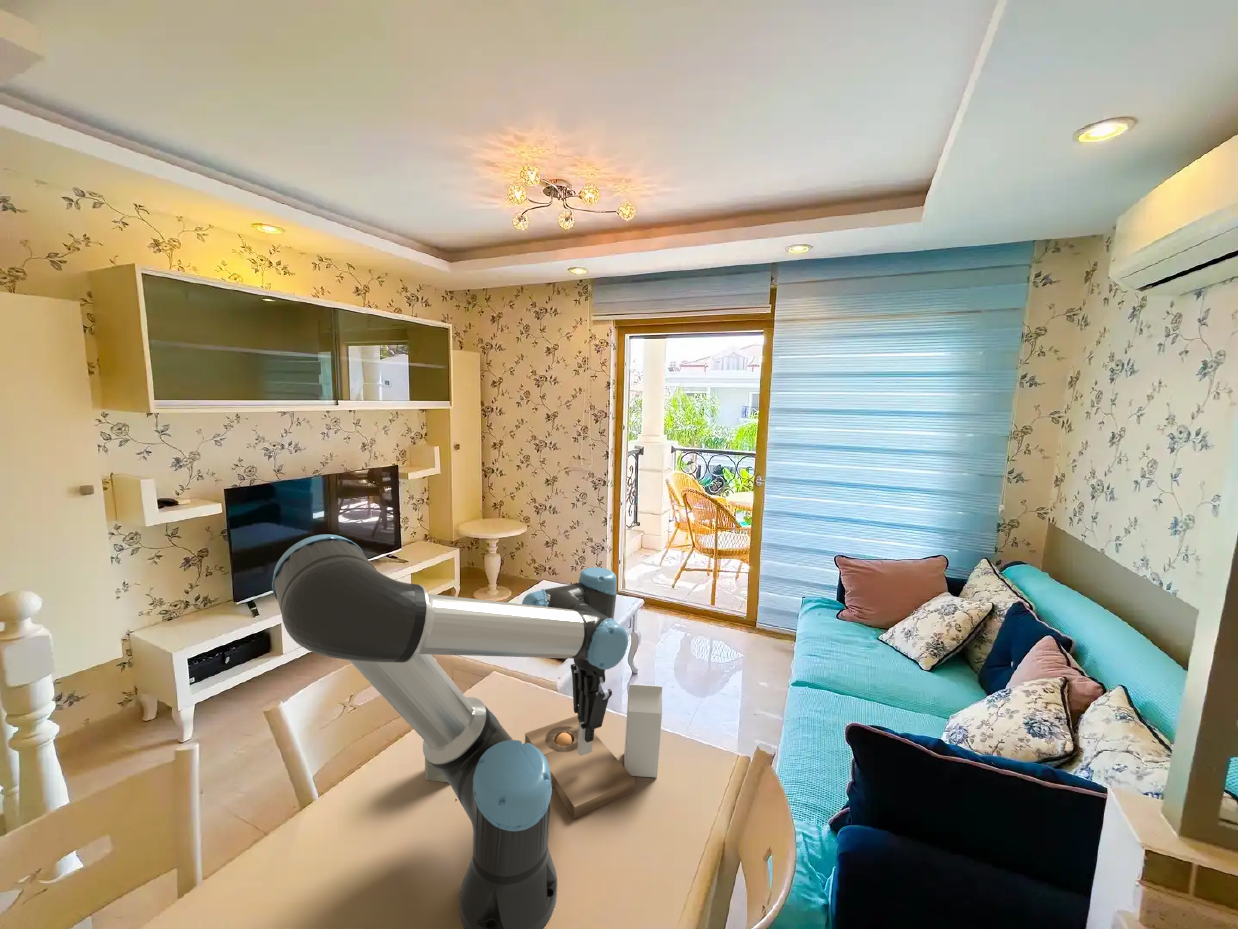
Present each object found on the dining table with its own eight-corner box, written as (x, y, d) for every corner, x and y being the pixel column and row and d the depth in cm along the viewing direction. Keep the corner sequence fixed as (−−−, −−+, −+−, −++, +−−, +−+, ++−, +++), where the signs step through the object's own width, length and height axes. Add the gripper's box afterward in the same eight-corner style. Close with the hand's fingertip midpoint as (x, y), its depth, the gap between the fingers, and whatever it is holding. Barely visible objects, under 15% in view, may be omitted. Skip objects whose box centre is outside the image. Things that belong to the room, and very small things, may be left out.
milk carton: (657, 778, 107) (663, 696, 104) (623, 776, 107) (629, 693, 104) (655, 754, 114) (661, 677, 111) (624, 752, 114) (629, 675, 111)
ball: (563, 752, 111) (554, 737, 112) (560, 755, 113) (551, 741, 115) (576, 742, 113) (567, 727, 114) (573, 745, 115) (564, 731, 117)
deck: (634, 791, 103) (634, 780, 103) (574, 819, 95) (574, 807, 95) (578, 724, 123) (578, 714, 122) (524, 743, 115) (525, 733, 115)
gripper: (626, 655, 98) (616, 765, 101) (592, 628, 109) (584, 728, 112) (593, 663, 94) (584, 778, 97) (562, 634, 105) (554, 738, 107)
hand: (584, 751), depth 104 cm, fingers closed
